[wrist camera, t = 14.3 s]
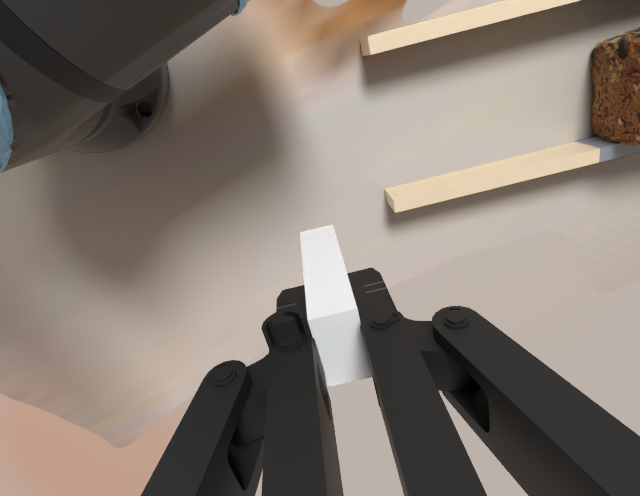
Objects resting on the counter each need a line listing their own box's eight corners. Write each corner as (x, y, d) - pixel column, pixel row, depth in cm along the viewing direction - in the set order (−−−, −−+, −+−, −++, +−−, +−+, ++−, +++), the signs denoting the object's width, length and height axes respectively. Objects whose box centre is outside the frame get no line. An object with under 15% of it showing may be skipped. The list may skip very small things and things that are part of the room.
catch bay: (359, 39, 37) (367, 36, 34) (831, -85, 36) (891, -101, 33) (386, 201, 45) (395, 212, 41) (778, 103, 44) (823, 106, 40)
